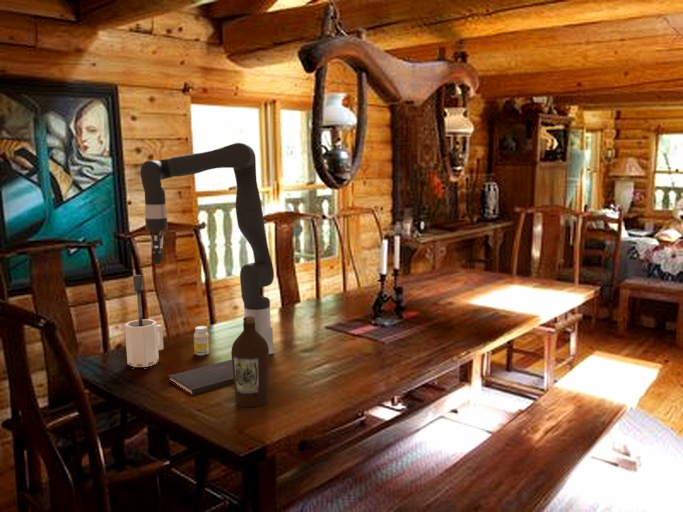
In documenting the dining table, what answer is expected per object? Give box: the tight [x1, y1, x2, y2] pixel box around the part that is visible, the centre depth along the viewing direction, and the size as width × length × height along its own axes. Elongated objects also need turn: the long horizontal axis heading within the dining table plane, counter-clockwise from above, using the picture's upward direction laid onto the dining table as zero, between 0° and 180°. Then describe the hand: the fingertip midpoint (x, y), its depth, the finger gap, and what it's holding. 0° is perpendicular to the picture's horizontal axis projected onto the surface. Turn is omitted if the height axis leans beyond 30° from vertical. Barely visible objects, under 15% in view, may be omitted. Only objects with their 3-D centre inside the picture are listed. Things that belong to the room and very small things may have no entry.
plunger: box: [132, 274, 147, 327], centre depth 201 cm, size 7×7×19 cm
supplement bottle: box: [193, 325, 210, 356], centre depth 215 cm, size 5×5×10 cm
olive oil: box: [230, 316, 270, 408], centre depth 171 cm, size 11×11×25 cm
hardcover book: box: [168, 359, 234, 396], centre depth 191 cm, size 16×23×2 cm
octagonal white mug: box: [124, 318, 164, 367], centre depth 205 cm, size 10×12×14 cm
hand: (158, 261), depth 216 cm, fingers open, 8 cm apart
